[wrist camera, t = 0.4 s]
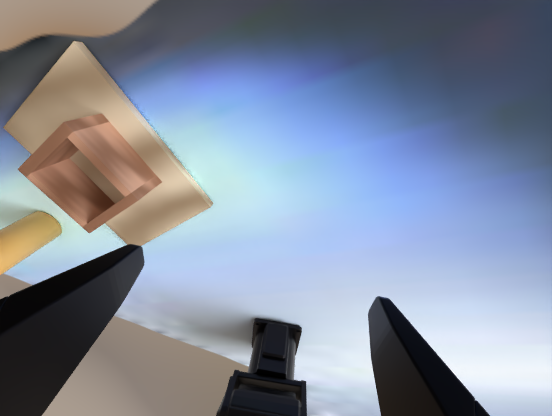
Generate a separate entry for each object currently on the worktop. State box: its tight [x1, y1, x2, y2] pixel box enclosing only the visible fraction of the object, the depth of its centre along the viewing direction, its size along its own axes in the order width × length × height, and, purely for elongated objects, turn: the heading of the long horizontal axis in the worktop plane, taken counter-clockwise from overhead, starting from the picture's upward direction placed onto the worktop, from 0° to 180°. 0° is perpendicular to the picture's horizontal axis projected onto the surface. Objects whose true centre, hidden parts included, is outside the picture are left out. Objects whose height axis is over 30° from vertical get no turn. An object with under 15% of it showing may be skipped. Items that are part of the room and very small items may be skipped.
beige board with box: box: [3, 41, 213, 246], centre depth 22 cm, size 16×12×4 cm
